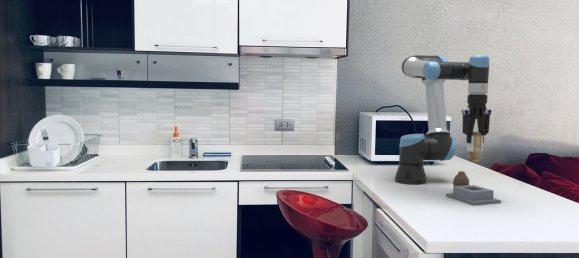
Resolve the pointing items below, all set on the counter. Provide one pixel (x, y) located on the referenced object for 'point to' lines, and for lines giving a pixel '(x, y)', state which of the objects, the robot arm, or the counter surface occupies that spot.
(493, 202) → the socket
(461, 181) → the vase
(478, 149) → the peg
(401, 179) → the robot arm
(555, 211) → the counter surface
